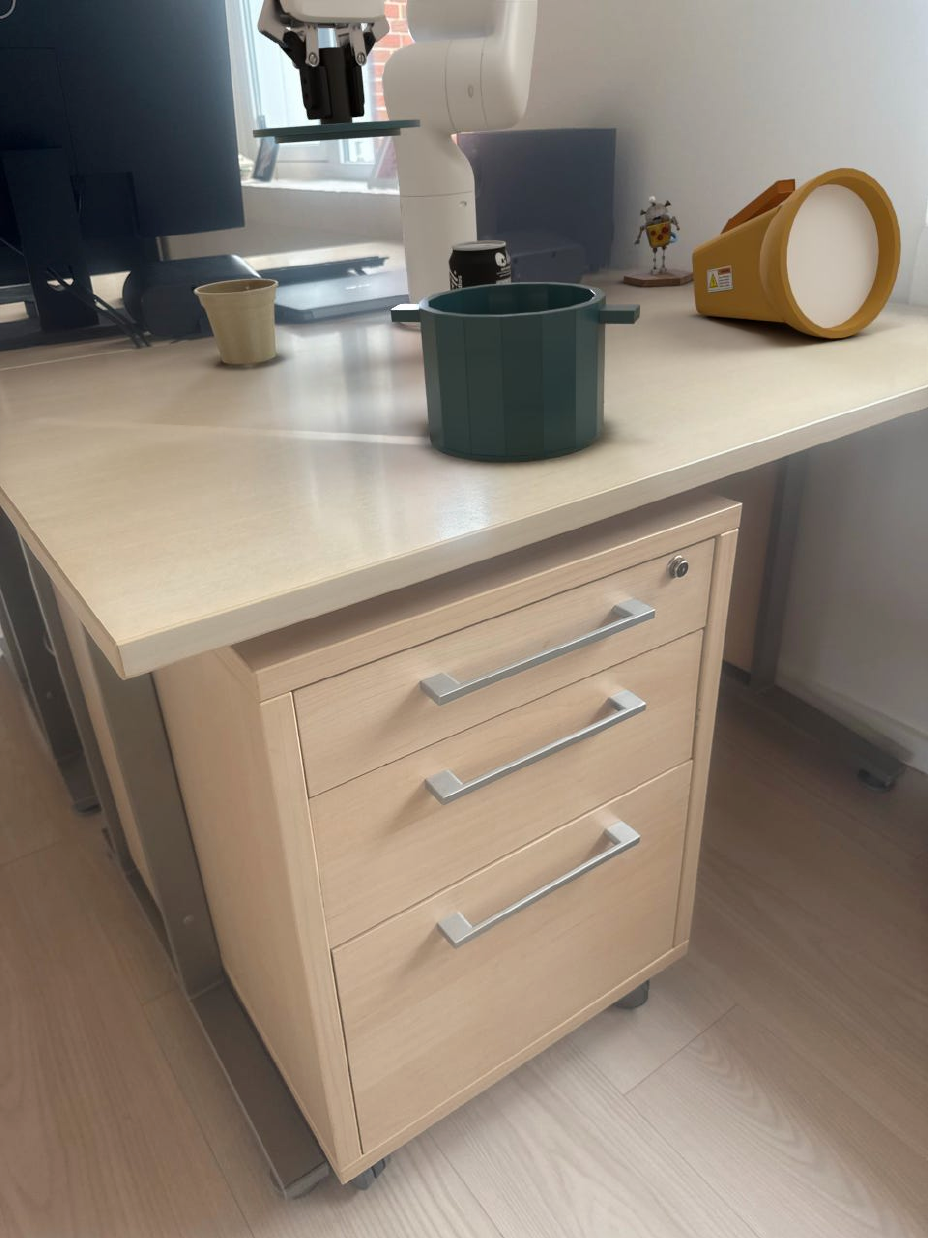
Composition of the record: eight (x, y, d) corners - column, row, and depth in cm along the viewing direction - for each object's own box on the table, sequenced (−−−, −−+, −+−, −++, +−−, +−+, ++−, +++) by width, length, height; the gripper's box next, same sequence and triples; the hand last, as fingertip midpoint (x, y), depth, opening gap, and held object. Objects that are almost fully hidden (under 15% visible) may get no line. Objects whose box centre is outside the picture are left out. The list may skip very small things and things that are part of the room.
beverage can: (446, 357, 100) (438, 244, 94) (498, 349, 102) (493, 237, 96) (469, 369, 95) (462, 249, 89) (523, 360, 97) (520, 242, 91)
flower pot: (271, 371, 99) (258, 291, 95) (195, 372, 101) (178, 294, 97) (301, 352, 107) (290, 277, 103) (230, 353, 109) (216, 279, 105)
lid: (306, 141, 91) (296, 59, 88) (445, 132, 86) (440, 45, 83) (221, 147, 79) (205, 52, 75) (377, 136, 74) (368, 34, 70)
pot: (436, 404, 84) (427, 282, 78) (647, 412, 77) (652, 280, 72) (373, 454, 72) (357, 315, 67) (615, 469, 66) (619, 317, 60)
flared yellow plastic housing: (902, 326, 99) (900, 154, 94) (785, 348, 93) (776, 167, 88) (776, 339, 117) (768, 196, 112) (671, 359, 111) (658, 209, 106)
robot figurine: (692, 274, 139) (697, 190, 133) (700, 283, 131) (706, 195, 125) (621, 277, 141) (623, 194, 135) (625, 287, 133) (627, 199, 127)
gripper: (239, -162, 66) (278, 119, 75) (413, -137, 75) (430, 112, 84) (196, -137, 71) (238, 124, 80) (364, -116, 80) (384, 116, 89)
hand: (335, 115), depth 82 cm, fingers closed on lid, 3 cm apart
